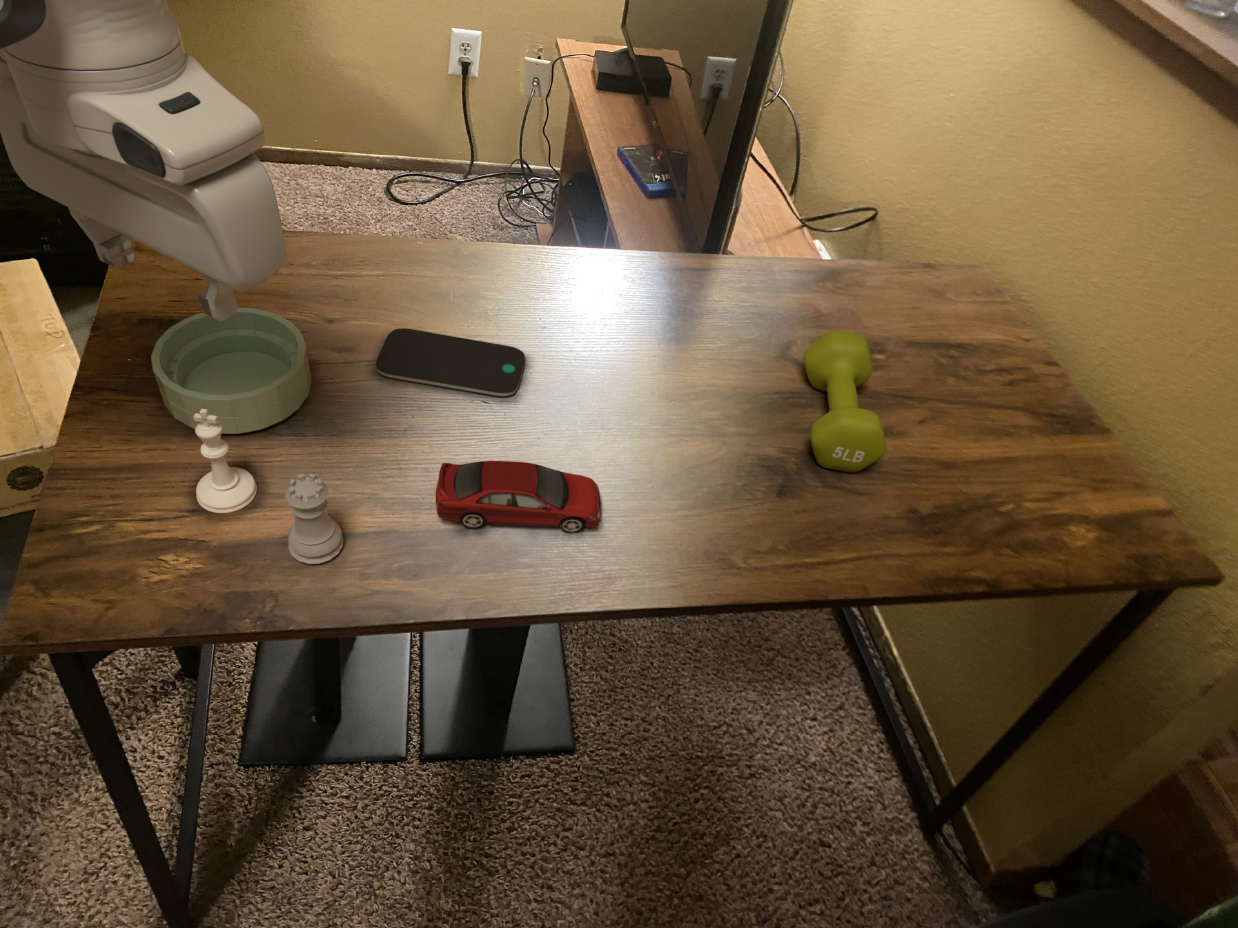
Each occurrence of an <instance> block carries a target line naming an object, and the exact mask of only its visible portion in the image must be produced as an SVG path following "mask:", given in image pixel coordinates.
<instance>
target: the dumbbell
mask: <svg viewBox="0 0 1238 928" xmlns="http://www.w3.org/2000/svg"><path fill="white" fill-rule="evenodd" d="M803 363H804V369H805V371H806V375H807V378H808V381H809V383H810V385H811V386H812V387H813V389H816V390H819V391H823V392H827V403H828V409H829V410H828V412H826V413H825V414H824V415H822V416H821V417H819V418H818V419H816V421H815V422H814V423H813V424H812V425H811V426H810V431H809V436H810V437H809V438H810V444H811V449H812V452H813V455H814V458H815V460H816V463H817V464H818V465H819V466H820V467H822V468H825V469H829V470H833V471H834V470H835V471H839V472H846V473H856V472H859V471H863V470H864V469H865V468H867V467H870V466H871V465H872V464H874V463H875V462H877V461H879V460H880V459H881V458H883V456H884V455H885V454H886V453H887V452H886V451H887V442H886V436H885V431H884V427H883V423H882V421H881V418H880V416H879V415H878V414H877V413H876V412H874V411H873V410H870V409H866V408H861V407H859V397H858V392H857V388H858V387H859V386H861V385H862V384H863V383H865V382H866V381H867V380H869V379H870V377H872V374H873V372H874V371H873V369H874V368H873V360H872V354H871V350H870V346H869V342H868V340H867V338H865V336H863V335H860V334H857V333H851V332H848V331H847V332H846V331H841V330H831V331H828V332H826V333H824V334H823V335H821V336H820V337H819V338H817V339H815V340H814V342H812V343H811V344H810V345H808V347H806V349H805V350H804V352H803Z"/></svg>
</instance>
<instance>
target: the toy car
mask: <svg viewBox="0 0 1238 928" xmlns="http://www.w3.org/2000/svg"><path fill="white" fill-rule="evenodd" d="M435 506H436V513H437V516H438V518H439V519H444V520H445V519H446V520H450V521H455V522H459V521H460V523H461V525H462V526H463V527H465V528H468V529H478V528H481V527H483V526H484V525H485V522H486V524H487V525H488V524H489V525H507V526H508V525H509V526H510V525H511V526H531V527H532V526H533V527H550V528H553V527H554V528H559V527H560V529H561V531H563V532H564V533H568V534H575V533H578V532H581V531H582V530H583V529H584V527H585V529H597V528H599V525H600V522H601V519H602V518H601V517H602V499H601V492H600V489H599V486H598V483H596V482H595V480H594V479H593V478H591V477H589V476H585V475H581V474H575V473H571V472H566V471H561V470H557V469H554V468H550V467H547V466H543V465H540V464H537V463H532V462H526V461H513V460H512V461H511V460H482V461H480V460H479V461H474V462H468V463H463V464H462V463H461V464H459V463H458V464H457V463H450V462H442V464H441V466H440V469H439V472H438V479H437V482H436V487H435Z"/></svg>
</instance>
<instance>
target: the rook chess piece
mask: <svg viewBox="0 0 1238 928" xmlns="http://www.w3.org/2000/svg"><path fill="white" fill-rule="evenodd" d="M328 496H329V488H328V486H327V484H326V483H325V482H324V481H322V479H321V478H317V475H316V474H314V473H309V474H308V476H305V473H299V474H297V479H294V478H291V479H290V481H289V482H288V487H287V488H286V489H285V494H284V498H285V500H286V502H287V503H288V504H289V505H290V510H291V512H292V514H293V515H294V523H293V524H292V525H291V528H290V529H289V532H288V538H287V543H288V550H289V552H290V555H291V556H292V557H293V558H294V559H296V560H297V561H298V562H300V563H303V564H308V565H321V564H322V563H326V562H328V561H331V560H332V559H333V558H335V557H336V556H337V555H338V554H339V553H340V551H341V550H342V548H343V546H344V535H343V534H342V529H341V527H340V526H339V523H338V522H337V521H336V520H335V519H333V518H332V517H331V516H330V515H328V512H327V508H328V500H327V498H328Z"/></svg>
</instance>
